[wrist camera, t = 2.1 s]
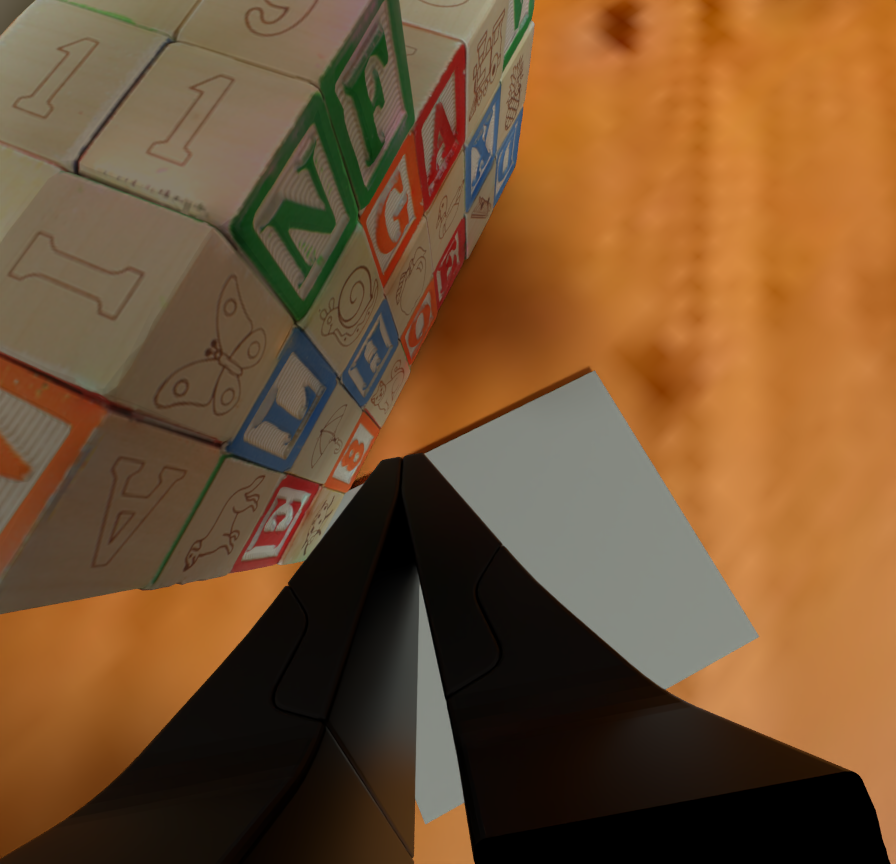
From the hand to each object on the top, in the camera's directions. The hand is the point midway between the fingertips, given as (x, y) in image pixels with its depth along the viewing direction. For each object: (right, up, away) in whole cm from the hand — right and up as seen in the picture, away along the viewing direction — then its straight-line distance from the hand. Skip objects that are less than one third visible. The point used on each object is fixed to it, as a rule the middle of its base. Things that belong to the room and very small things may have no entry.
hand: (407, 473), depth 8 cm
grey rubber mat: (+4, -5, +9) cm, 10 cm away
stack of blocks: (-3, +6, +11) cm, 13 cm away
